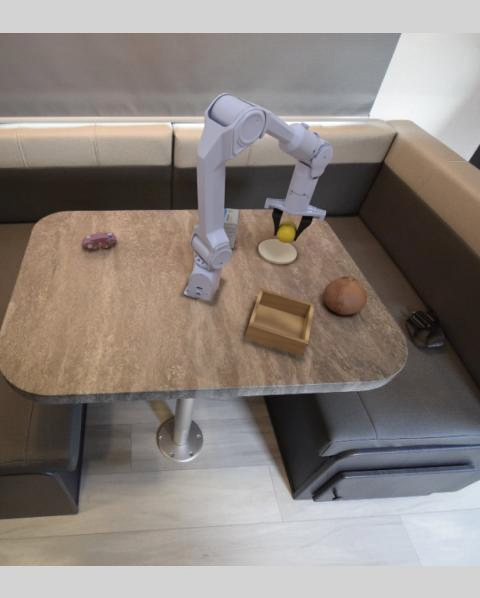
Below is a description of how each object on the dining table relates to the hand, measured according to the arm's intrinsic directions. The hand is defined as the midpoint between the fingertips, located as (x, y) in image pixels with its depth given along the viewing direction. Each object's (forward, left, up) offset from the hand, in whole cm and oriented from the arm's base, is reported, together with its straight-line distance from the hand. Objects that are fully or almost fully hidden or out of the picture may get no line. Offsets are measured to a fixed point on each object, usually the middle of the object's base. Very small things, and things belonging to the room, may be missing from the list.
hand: (285, 236), depth 94 cm
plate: (+4, +1, -8) cm, 9 cm away
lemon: (0, 0, -1) cm, 1 cm away
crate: (-26, -4, -8) cm, 27 cm away
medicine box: (+3, +16, -8) cm, 18 cm away
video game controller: (-16, +49, -9) cm, 52 cm away
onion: (-13, -17, -9) cm, 23 cm away
